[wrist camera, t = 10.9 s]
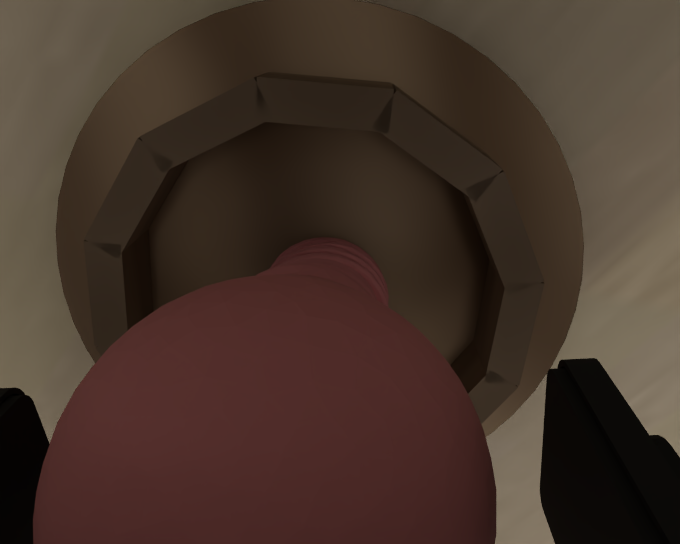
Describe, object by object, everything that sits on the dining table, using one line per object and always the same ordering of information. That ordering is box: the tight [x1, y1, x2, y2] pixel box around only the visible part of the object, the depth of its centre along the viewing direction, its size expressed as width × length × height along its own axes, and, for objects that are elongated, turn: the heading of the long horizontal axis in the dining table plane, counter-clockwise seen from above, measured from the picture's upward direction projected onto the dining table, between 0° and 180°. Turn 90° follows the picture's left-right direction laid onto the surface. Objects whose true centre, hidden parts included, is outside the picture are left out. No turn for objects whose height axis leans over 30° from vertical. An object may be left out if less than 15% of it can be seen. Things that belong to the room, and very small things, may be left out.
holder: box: [56, 0, 584, 437], centre depth 17 cm, size 16×16×3 cm
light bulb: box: [33, 237, 496, 544], centre depth 12 cm, size 7×7×12 cm
